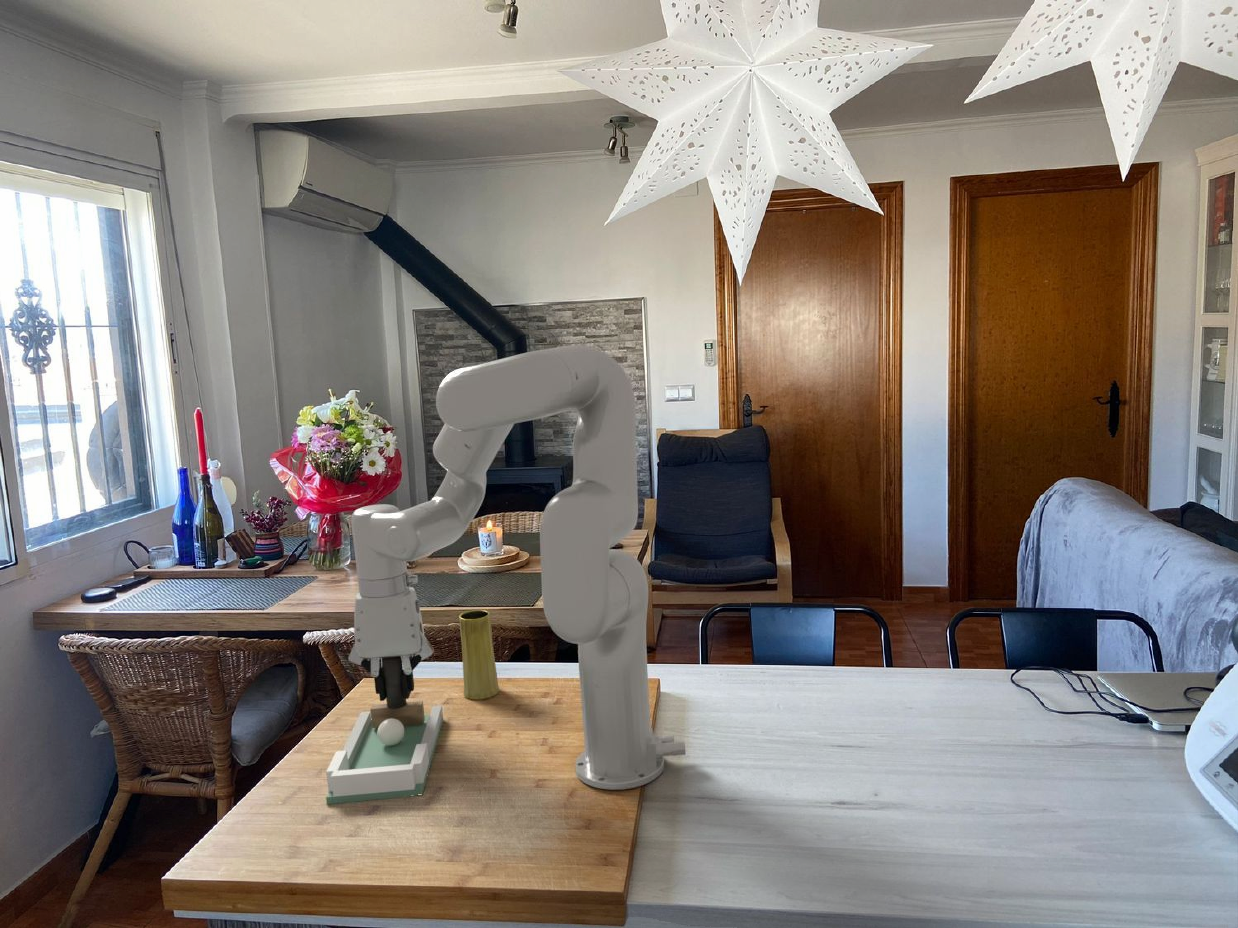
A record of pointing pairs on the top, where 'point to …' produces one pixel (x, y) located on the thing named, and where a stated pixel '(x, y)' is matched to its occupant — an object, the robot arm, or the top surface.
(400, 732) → the ball
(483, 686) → the vase
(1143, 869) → the top surface
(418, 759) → the pitch
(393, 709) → the striker
